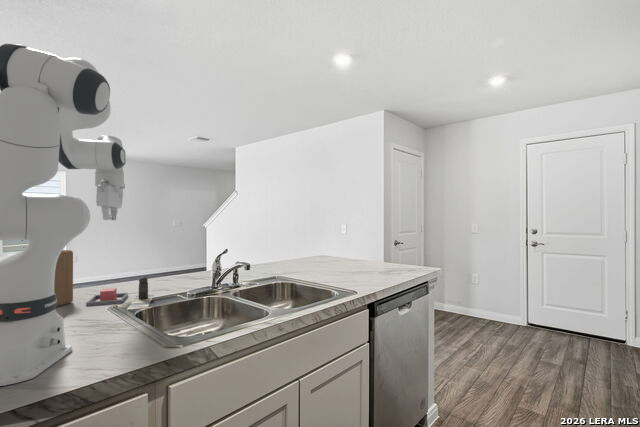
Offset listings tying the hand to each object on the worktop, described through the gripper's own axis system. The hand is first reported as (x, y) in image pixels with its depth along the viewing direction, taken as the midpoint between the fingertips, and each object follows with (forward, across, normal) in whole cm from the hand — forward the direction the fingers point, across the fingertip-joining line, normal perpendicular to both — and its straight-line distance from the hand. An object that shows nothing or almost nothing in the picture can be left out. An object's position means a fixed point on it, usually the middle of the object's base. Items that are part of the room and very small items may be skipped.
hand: (109, 220), depth 119 cm
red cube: (+31, +8, +2) cm, 32 cm away
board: (+32, +3, -10) cm, 33 cm away
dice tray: (+31, +8, +2) cm, 32 cm away
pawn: (+31, +7, -10) cm, 33 cm away
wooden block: (+31, +11, +21) cm, 39 cm away
